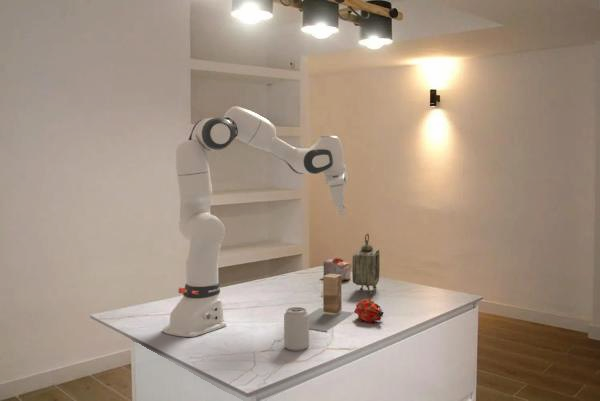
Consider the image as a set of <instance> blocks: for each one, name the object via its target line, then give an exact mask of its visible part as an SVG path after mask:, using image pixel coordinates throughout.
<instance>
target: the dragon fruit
mask: <svg viewBox="0 0 600 401" xmlns="http://www.w3.org/2000/svg"><path fill="white" fill-rule="evenodd" d="M355 306H356V308H355V310H354V311H353V314H356V315H358V316H357V318H358V320H359V322H362V321H364V322H366V323H367V324H369V323H370V324H376V323H375V322H377V321H378V322H381V320H382V318H383V317H384V316H383V315H384V311H383V309H382V308H381V306H380V305H378V304H377V303H375V302H374V301H373V300H372V299H368V298H364V299H361V300H360V301H359V302H358V303H357V304H356V305H355Z"/></svg>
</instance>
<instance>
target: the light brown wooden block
mask: <svg viewBox="0 0 600 401" xmlns="http://www.w3.org/2000/svg"><path fill="white" fill-rule="evenodd" d="M322 283H323V285H322V291H323V294H322V295H323V297H322V298H323V300H322V301H323V304H322V305H323V314H328V315H335V316H336V315H338V314H339V313H341V312H342V311H343V310H342V308H343V307H342V296H343V294H342V281H341V275H338V274H327V275H325V276H324V275H323V277H322Z"/></svg>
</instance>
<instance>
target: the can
mask: <svg viewBox="0 0 600 401" xmlns="http://www.w3.org/2000/svg"><path fill="white" fill-rule="evenodd" d="M309 314H310V313H308V312H307V308H305V307H300V306H299V307H298V306H295V307H293V306H292V307H289V308H286V309H285V313H284V314H283V331H284V332H283V335H284V336H283V337H284V339H283V340H284V342H283V345H284V346H285V347H286V349H287V350H288V351H293V352H301V351H303V350H306V349H307V348H308V347H309V345H310V332H309V331H310V330H309Z"/></svg>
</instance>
